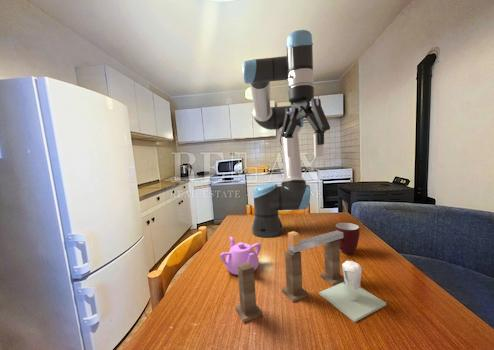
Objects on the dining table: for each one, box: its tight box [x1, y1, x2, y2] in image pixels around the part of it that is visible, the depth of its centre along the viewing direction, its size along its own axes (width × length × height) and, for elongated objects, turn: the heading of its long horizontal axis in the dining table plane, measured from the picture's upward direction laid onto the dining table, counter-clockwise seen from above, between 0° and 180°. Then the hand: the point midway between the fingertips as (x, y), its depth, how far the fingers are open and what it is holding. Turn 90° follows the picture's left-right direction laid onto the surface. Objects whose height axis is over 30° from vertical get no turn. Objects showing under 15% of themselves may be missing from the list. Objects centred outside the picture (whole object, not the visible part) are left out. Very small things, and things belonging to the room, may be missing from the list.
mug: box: [334, 222, 360, 255], centre depth 79 cm, size 10×8×10 cm
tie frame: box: [234, 240, 344, 323], centre depth 58 cm, size 5×33×12 cm, turn 115°
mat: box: [318, 281, 387, 323], centre depth 55 cm, size 11×11×1 cm
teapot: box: [219, 235, 262, 276], centre depth 74 cm, size 12×14×9 cm
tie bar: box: [287, 230, 343, 253], centre depth 61 cm, size 2×18×5 cm, turn 115°
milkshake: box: [340, 260, 363, 301], centre depth 55 cm, size 4×5×10 cm
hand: (303, 157), depth 68 cm, fingers open, 13 cm apart
